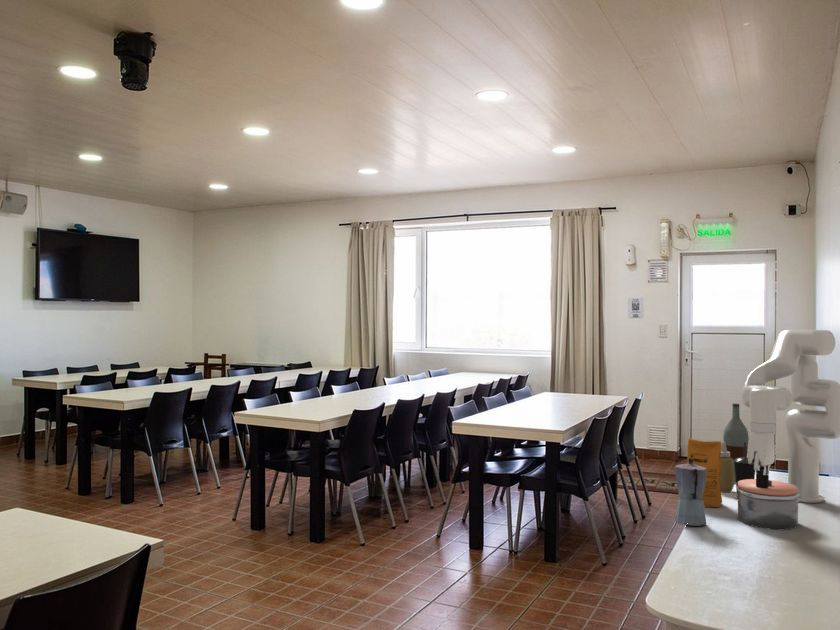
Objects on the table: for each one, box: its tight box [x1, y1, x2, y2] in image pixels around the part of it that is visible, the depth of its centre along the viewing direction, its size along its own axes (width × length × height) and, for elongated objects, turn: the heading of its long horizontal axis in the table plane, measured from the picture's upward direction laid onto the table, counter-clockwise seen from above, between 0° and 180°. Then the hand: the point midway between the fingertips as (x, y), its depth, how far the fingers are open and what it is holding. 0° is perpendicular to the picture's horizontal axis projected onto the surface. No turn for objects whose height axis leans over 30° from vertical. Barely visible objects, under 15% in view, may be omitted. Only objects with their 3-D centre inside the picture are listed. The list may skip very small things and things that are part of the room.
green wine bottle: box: [722, 403, 750, 483], centre depth 280 cm, size 9×9×30 cm
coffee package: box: [686, 438, 723, 508], centre depth 245 cm, size 10×12×22 cm
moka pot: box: [674, 458, 707, 527], centre depth 221 cm, size 10×15×20 cm, turn 174°
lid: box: [738, 478, 798, 496], centre depth 224 cm, size 17×17×3 cm
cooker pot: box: [736, 486, 799, 530], centre depth 224 cm, size 18×18×10 cm
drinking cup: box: [733, 442, 756, 500], centre depth 251 cm, size 8×8×20 cm
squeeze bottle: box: [720, 441, 736, 493], centre depth 263 cm, size 8×8×18 cm
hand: (762, 487), depth 221 cm, fingers closed
